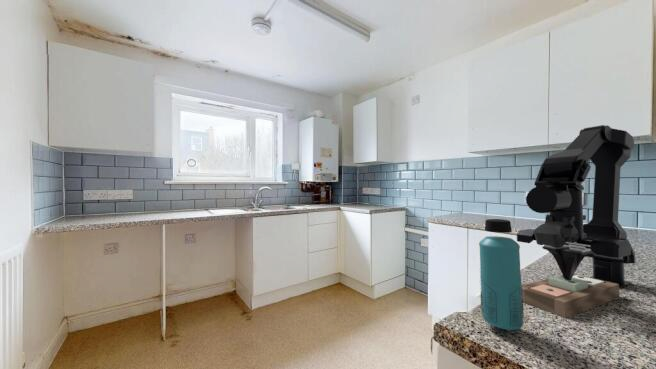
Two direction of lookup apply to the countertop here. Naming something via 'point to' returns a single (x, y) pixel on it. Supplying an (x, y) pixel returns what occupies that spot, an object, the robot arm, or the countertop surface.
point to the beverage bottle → (501, 278)
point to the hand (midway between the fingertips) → (567, 279)
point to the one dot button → (550, 291)
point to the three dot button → (568, 283)
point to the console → (570, 297)
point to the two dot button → (589, 280)
